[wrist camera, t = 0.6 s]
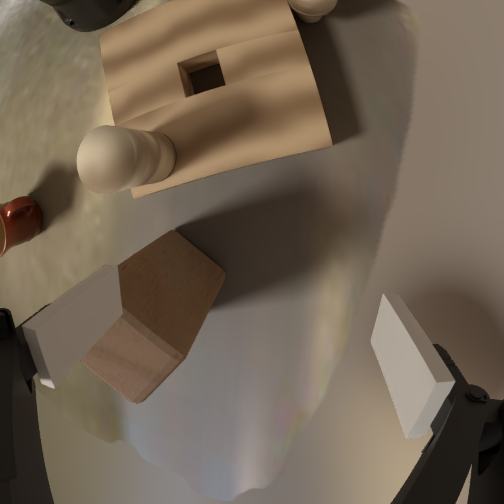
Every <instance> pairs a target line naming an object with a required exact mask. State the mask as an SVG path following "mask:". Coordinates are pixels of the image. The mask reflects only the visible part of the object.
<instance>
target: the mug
mask: <svg viewBox="0 0 504 504" xmlns="http://www.w3.org/2000/svg"><path fill="white" fill-rule="evenodd" d="M41 226H42V214H41V211H40V208H39V206H38V205H37V203H36V202H35V201H34V200H33V199H32V198H31V197H29V196H22V197H18V198H16V199H14V200H12V201H10V202H7V203H4V204H0V258H1V257H2V256H3V255H4V254H5V253H6V252H7V251H8V250H9V249H10V248H12V247H14V246H17V245H19V244H22V243H25V242H28V241H30V240H31V239H32V238H34V237H35V236H37V235H38V234H39V232H40V230H41Z"/></svg>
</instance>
